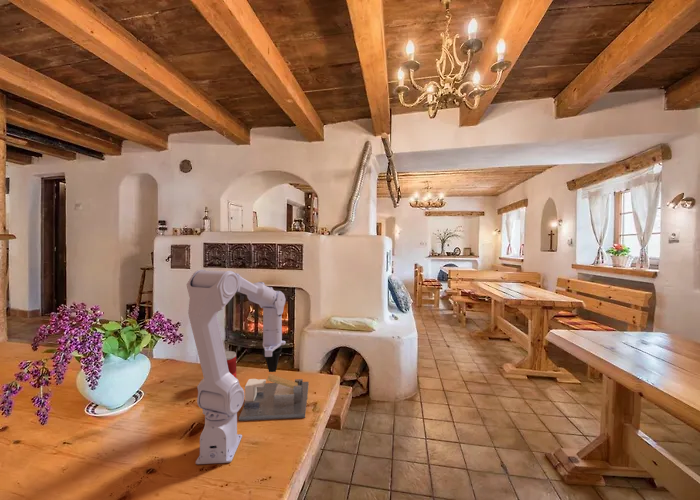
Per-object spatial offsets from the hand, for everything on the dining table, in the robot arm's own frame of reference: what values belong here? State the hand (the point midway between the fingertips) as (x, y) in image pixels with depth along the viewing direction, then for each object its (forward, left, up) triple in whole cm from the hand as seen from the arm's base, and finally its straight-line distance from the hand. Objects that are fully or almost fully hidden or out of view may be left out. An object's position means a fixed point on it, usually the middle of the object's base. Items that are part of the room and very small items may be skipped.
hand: (272, 371), depth 93 cm
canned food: (+13, +19, -10) cm, 25 cm away
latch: (0, +5, -9) cm, 10 cm away
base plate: (+1, -1, -10) cm, 10 cm away
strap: (0, -3, -4) cm, 5 cm away
